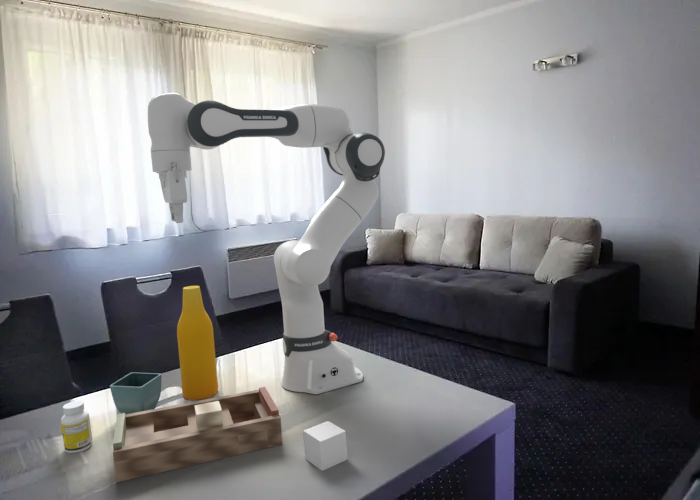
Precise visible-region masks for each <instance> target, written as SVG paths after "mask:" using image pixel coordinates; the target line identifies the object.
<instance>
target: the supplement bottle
mask: <svg viewBox="0 0 700 500" xmlns="http://www.w3.org/2000/svg"><path fill="white" fill-rule="evenodd" d="M62 412H63V416H62V417H61V419H60V426H61V433H62V440H63V446H64V450H65V452H66V454H67V453H68V454H77V453H81V452H83V451H86V450H88V449H89V448H90V447H92V445H93V434H92V427H91V419H90V413H89V411H87V410H86V409H85V402H84V401H82V400H73V401H70V402H68V403H65V404H64V405H63V406H62Z"/></svg>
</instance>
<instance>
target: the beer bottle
mask: <svg viewBox="0 0 700 500" xmlns="http://www.w3.org/2000/svg"><path fill="white" fill-rule="evenodd" d="M203 302H204V301H203V297H202V291H201V288H200V285H189V286H184V287H182V309H181V314H180V317H179V320H178V322H177V325H176V328H177V329H176V337H177V346H178V348H177V349H178V358H179V368H180V380H181V391H182V396H183V397H184V399H186V400H189V401H200V400H205V399H210V398H212V397H213V396H215V395H216V394H217V393H218V390H219V381H218V373H217V372H218V371H217V362H216V361H217V360H216V349H215V338H214V336H215V335H214V326H213V322H212V320H211V318H210V316H209V314H208V313H207V311H206V309H205V306H204V303H203Z"/></svg>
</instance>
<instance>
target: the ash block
mask: <svg viewBox="0 0 700 500" xmlns="http://www.w3.org/2000/svg"><path fill="white" fill-rule="evenodd" d="M195 416H196V427H197V431H201V430H206V429H211V428H216V427H221V426H223V418H222V409H221V406H220V403H219V401H215V402H210V403H205V404H199V405H195Z"/></svg>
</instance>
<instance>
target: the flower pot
mask: <svg viewBox="0 0 700 500" xmlns="http://www.w3.org/2000/svg"><path fill="white" fill-rule="evenodd" d="M162 376H163V375H162V373H158V372H157V373H155V372H154V373H153V372H133V371H132V372H129V373H128V374H126V375H124V376H123V377H121V378H119V379H118V380H116V381H115V382H113V383H111V384H110V385H109V389H110V393H111V396H112V400H113V404H114V406H115V408H116V409H117V411H118V412H119V414H121V413H125V414H131V413H136V412H141V411H147V410H152V409H156V407H157V405H158V403H159V401H160V397H161V393H162Z"/></svg>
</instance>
